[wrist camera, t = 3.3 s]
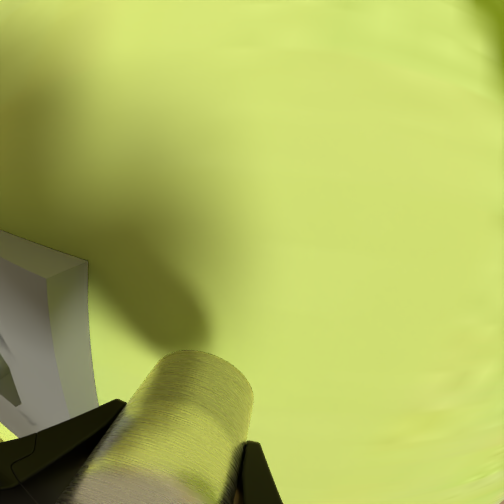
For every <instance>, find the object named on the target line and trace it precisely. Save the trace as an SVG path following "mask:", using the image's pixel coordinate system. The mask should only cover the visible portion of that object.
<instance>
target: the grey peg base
mask: <svg viewBox="0 0 504 504" xmlns="http://www.w3.org/2000/svg"><path fill="white" fill-rule="evenodd" d="M97 407H99V405H98V399H97V393H96V387H95V380H94V373H93V365H92V356H91V346H90V334H89V318H88V261H86V260H83V259H80V258H77V257H74V256H71V255H68V254H65V253H62V252H59V251H56V250H53V249H51V248H48V247H45V246H42V245H39V244H37V243H34V242H31V241H28V240H26V239H23V238H20V237H18V236H15V235H13V234H10V233H7V232H5V231H2V230H0V422H1V423H2V424H3V425H4V426H5V427H7V428H8V429H9V430H10V431H11V432H12V433H14V434H15V435H16V436H17V437H18V438H21V437H24V436H27V435H30V434H33V433H37V432H38V431H41V430H44V429H46V428H49V427H51V426H54V425H56V424H59V423H61V422H64V421H66V420H69V419H71V418H74V417H76V416H78V415H81V414H83V413H85V412H88V411H90V410H92V409H95V408H97Z"/></svg>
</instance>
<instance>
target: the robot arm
mask: <svg viewBox="0 0 504 504" xmlns="http://www.w3.org/2000/svg"><path fill="white" fill-rule="evenodd" d="M126 404H127V403H126V402H124V401H122V400H120V399H114V400H112V401H110V402H108V403H106V404H104V405H101V406H99V407H97V408H95V409H92V410H90V411H88V412H85V413H83V414H81V415H78V416H76V417H74V418H71V419H69V420H66V421H64V422H61V423H59V424H56V425H54V426H51V427H49V428H46V429H44V430H41V431H38V432H37V433H33V434H30V435H27V436H24V437H21V438H18V439H14V440H10V441H6V442H1V443H0V504H55V503H56V502H57V500H58V499H59V497H60V496H61V495H62V493H63V492H64V490H65V489H66V487H67V486H68V485H69V483H70V482H71V480H72V479H73V478H74V476H75V475H76V473H77V472H78V471H79V469H80V468H81V466H82V465H83V464H84V462H85V461H86V459H87V458H88V457H89V455H90V454H91V453H92V451H93V450H94V448H95V447H96V446H97V444H98V443H99V441H100V440H101V439H102V437H103V436H104V435H105V433H106V432H107V430H108V429H109V428H110V426H111V425H112V424H113V422H114V421H115V419H116V418H117V417H118V415H119V414H120V413H121V411H122V410H123V408H124V407H125V406H126ZM233 504H283V503H282V500H281V498H280V495H279V493H278V490H277V487H276V485H275V482H274V480H273V477H272V475H271V472H270V469H269V467H268V464H267V461H266V459H265V456H264V453H263V450H262V448H261V445H260V443H259V442H254V441H247V442H246V445H245V450H244V455H243V460H242V465H241V469H240V474H239V479H238V484H237V489H236V493H235V498H234V503H233Z"/></svg>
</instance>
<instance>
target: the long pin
mask: <svg viewBox="0 0 504 504" xmlns="http://www.w3.org/2000/svg"><path fill="white" fill-rule="evenodd" d="M253 403H254V396H253V391H252V388H251V386H250V384H249V382H248V381H247V379H246V378H245V376H244V375H243V374H242V373H241V372H240V371H239V370H238V369H237V368H235V367H234V366H233V365H231V364H230V363H229V362H227V361H225V360H223V359H222V358H219V357H217V356H215V355H212V354H209V353H205V352H201V351H194V350H183V351H176V352H172V353H170V354H167V355H166V356H164V357H163V358H161V359H160V360H159V361H158V362H157V364H156V365H155V366H154V368H153V369H152V370H151V372H150V373H149V374H148V376H147V377H146V379H145V380H144V381H143V383H142V384H141V385H140V387H139V388H138V389H137V391H136V392H135V393H134V395H133V396H132V398H131V399H130V400H129V402H128V403H127V404H126V406H125V407H124V408H123V410H122V411H121V413H120V414H119V415H118V417H117V418H116V419H115V421H114V422H113V424H112V425H111V426H110V428H109V429H108V430H107V432H106V433H105V435H104V436H103V437H102V439H101V440H100V441H99V443H98V444H97V446H96V447H95V448H94V450H93V451H92V453H91V454H90V455H89V457H88V458H87V459H86V461H85V462H84V464H83V465H82V466H81V468H80V469H79V471H78V472H77V473H76V475H75V476H74V478H73V479H72V480H71V482H70V483H69V485H68V486H67V487H66V489H65V490H64V492H63V493H62V495H61V496H60V497H59V499H58V500H57V502H56V503H55V504H233V503H234V498H235V493H236V489H237V484H238V479H239V474H240V469H241V465H242V460H243V455H244V450H245V445H246V440H247V435H248V429H249V424H250V419H251V414H252V408H253Z"/></svg>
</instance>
